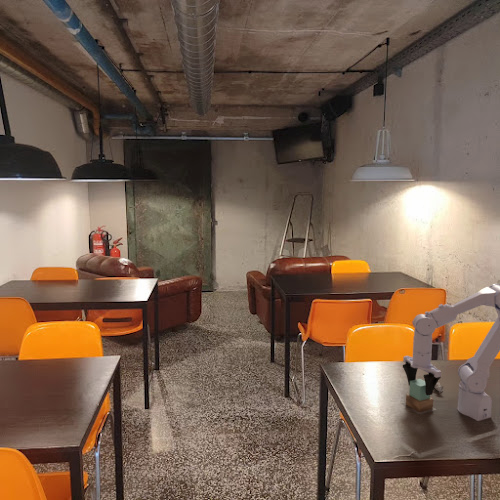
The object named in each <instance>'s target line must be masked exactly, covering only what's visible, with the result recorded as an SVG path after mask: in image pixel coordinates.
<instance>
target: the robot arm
mask: <svg viewBox="0 0 500 500" xmlns="http://www.w3.org/2000/svg"><path fill="white" fill-rule="evenodd" d="M437 306H438V307H436V308H434V309H432V310H430V311H427V310H426V311H425V312H424V313H420V314H417V315H416V316H414V318H413V320H412V325H413V328H414V331H413V341H412V344H413V346H412V356H410V355H405V356H403V359H402V360H403V363H404V364H402V368H403V371H404V372H405V374H406V379H407V383H408V386H409V387H410V381H412V380H417V378H416V377H417V373H418V369H419V370H422V371H424V372H425V373H426V374H423V379H424V381H425V385H426V395H430V396H431V395H433V393H434V390H435V388H434V387H435V385H436V383H437V382H439V381H438V380H440V379H441V378H442V371H441V370H440V369H438V368H437V367H436V366H434V365H433V363H432V347H433V333H434V332H435V331H436V329H438V328H440V327H442V326H445V325H447V324H449V323H453V321H456V319H457V317H458V315H460V314H463V313H465V312H468V311H471V310H473V309H476V308H479V307H481V306H487V307H491V308H494V309H495V311H496V313H497V318H496V320H495V321H494V323H493V324H492V326H491V328H490V329H489V331H488V332H487V334H486V335H485V337H484V339H483V341H482V342H481V344H480V345H479V347H478V349H477V350H476V351H475V353H474V355H473V356H472V357H469V358H468V359H467V360H466V361H465V362H464V363H463V364H461V365H460V366H458V367H459V368H458V369H457V375H458V377H459V378H460V381H459V383H458V398H457V411H458V412H459V413H460V414H462V415H464V416H467V417H470V418H471V419H473V420H475V421H477V422H480V421H483V420H487V419H490V418H491V417H492V406H493V405H492V404H493V401H492V397H491V396H490V395H488V394H487V393H486V391H485V389H487V387H488V386H487V385H488V379H489V377H490V371H491V370H490V367H491V365H492V364H493V363H494V361H495V360H496V357H497V356H498V354H499V352H500V283H493V284H491V285H490V286H487V287H483V288H482V289H480V290H479V291H477V292H475V293H473V294H471V295H470V296H467V297H466V298H464V299H461V300H459V301H458V302H456V303H454V304H448V303H446V304H445V303H444V304H443V303H440V304H438V305H437Z"/></svg>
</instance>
